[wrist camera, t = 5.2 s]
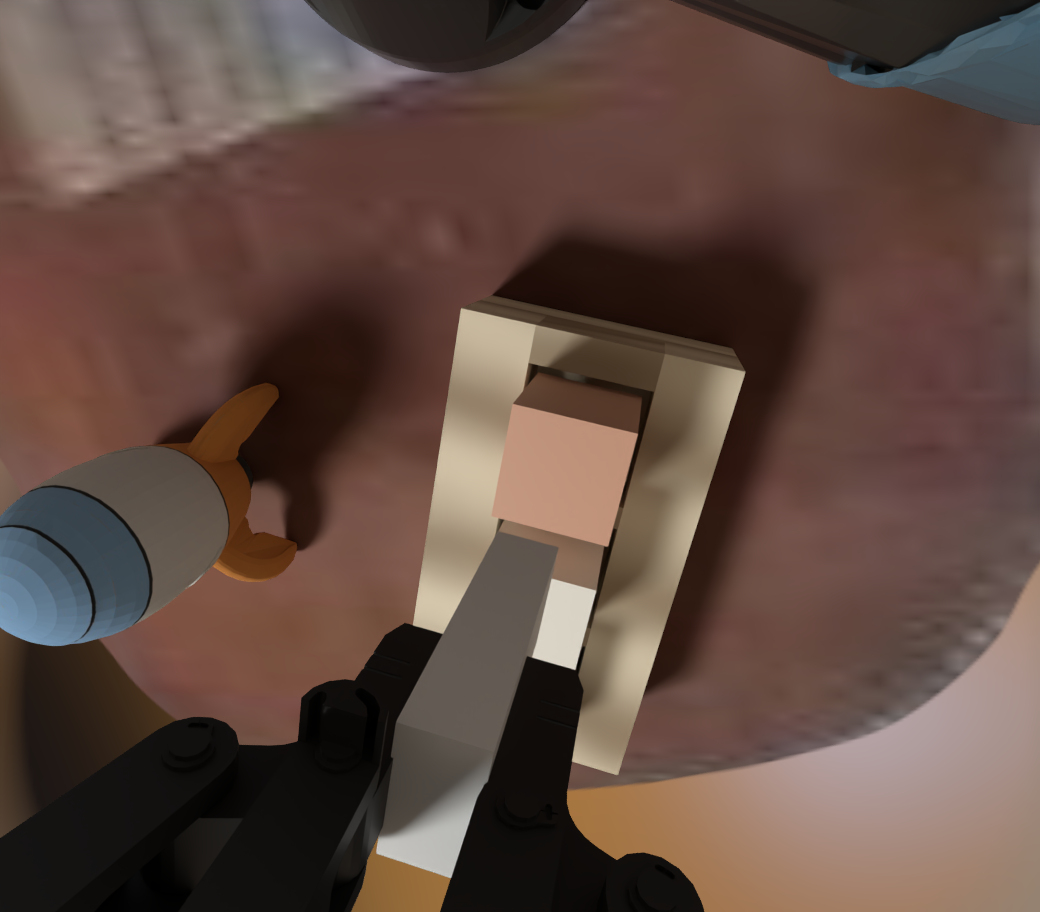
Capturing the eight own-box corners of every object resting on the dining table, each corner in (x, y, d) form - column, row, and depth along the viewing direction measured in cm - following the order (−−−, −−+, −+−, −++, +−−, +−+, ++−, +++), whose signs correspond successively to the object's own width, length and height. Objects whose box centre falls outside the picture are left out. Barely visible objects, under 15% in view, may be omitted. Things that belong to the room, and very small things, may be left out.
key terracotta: (538, 372, 27) (512, 403, 22) (642, 396, 26) (637, 433, 21) (519, 467, 28) (491, 516, 23) (617, 492, 28) (607, 546, 23)
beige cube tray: (491, 295, 30) (461, 308, 26) (732, 348, 29) (745, 371, 25) (432, 649, 38) (400, 708, 33) (623, 704, 36) (617, 775, 32)
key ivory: (511, 505, 29) (483, 560, 24) (606, 530, 28) (596, 590, 24) (495, 587, 30) (465, 653, 26) (585, 612, 30) (571, 684, 25)
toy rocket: (341, 549, 38) (110, 764, 26) (196, 510, 41) (-68, 683, 29) (316, 380, 33) (17, 544, 21) (155, 352, 36) (-184, 479, 24)
